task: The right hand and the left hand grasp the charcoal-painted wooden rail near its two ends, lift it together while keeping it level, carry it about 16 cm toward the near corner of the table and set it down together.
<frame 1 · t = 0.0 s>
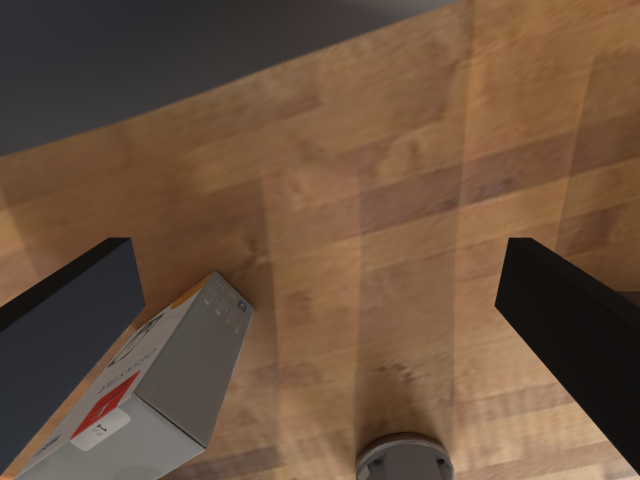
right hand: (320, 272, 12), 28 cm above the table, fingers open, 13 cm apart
hard drive box: (194, 319, 46), on the table
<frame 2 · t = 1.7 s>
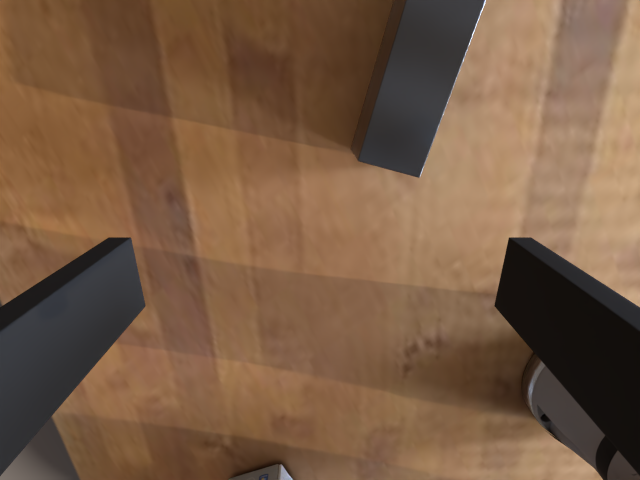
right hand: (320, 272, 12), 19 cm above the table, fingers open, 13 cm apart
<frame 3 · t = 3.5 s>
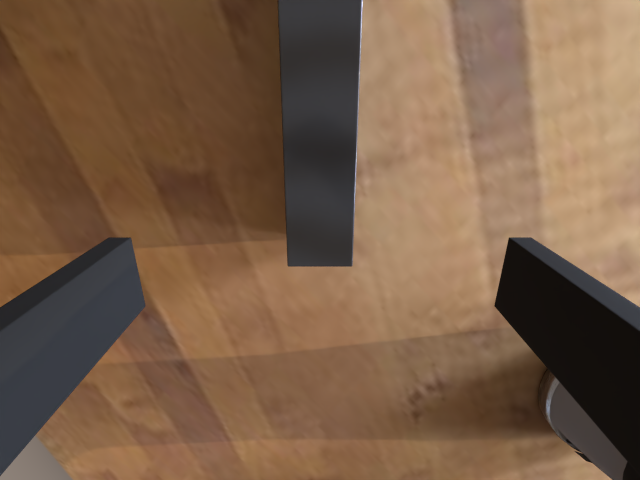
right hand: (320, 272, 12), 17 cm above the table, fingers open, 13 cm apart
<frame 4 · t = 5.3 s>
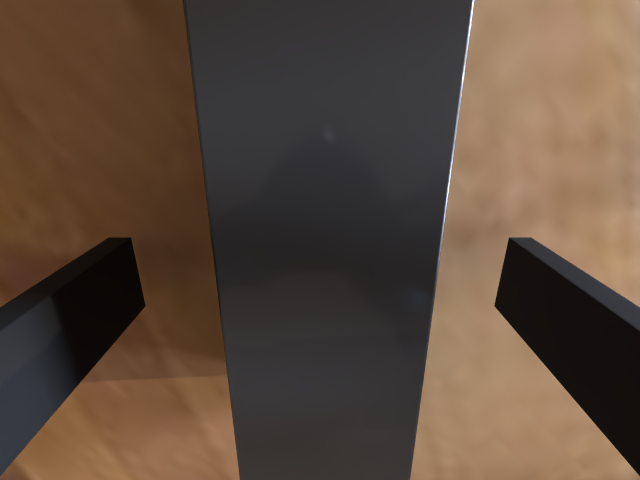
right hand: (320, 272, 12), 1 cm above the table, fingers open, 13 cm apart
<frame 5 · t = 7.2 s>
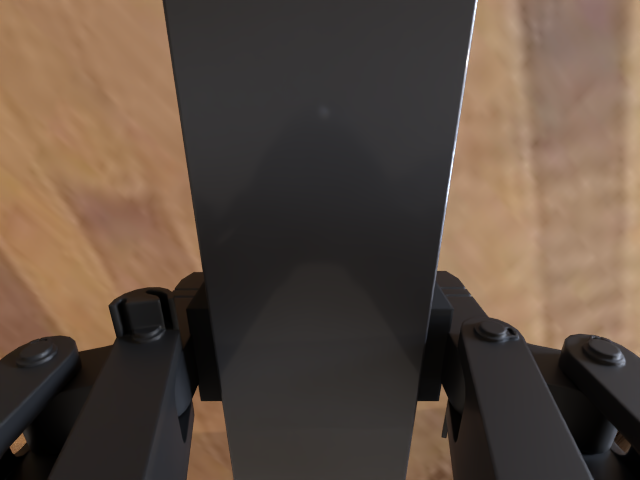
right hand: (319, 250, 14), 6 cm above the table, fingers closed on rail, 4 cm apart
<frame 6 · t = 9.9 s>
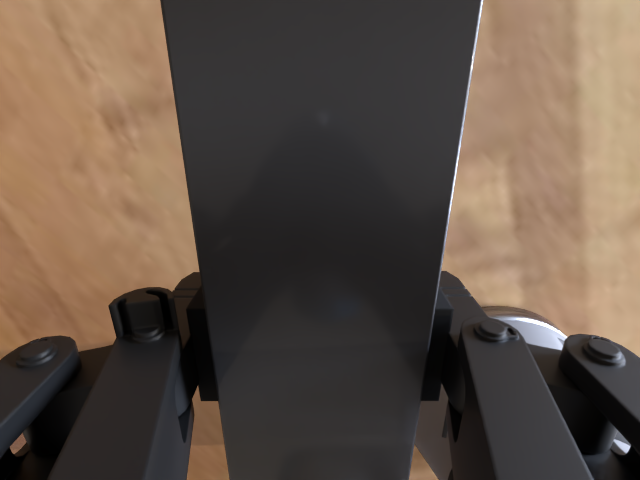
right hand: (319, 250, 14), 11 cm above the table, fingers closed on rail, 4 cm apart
when the left hand's fingers open (2 cm above the table, at t = 12.4 s): rail stays where it is, held by the right hand.
when the right hand's fingers open (0 cm above the table, at t = 12.8 s): rail stays where it is, on the table.
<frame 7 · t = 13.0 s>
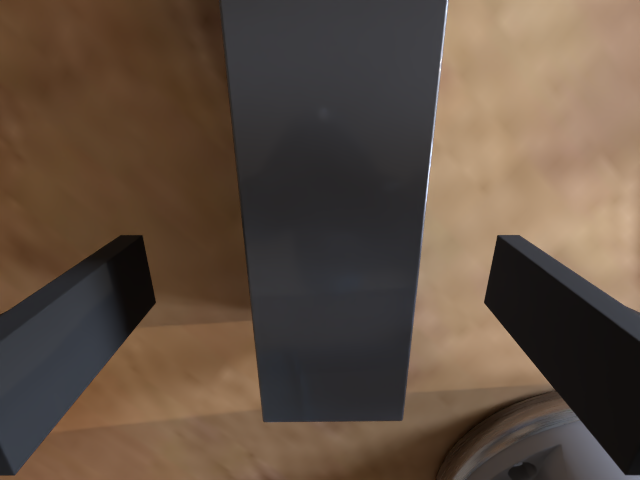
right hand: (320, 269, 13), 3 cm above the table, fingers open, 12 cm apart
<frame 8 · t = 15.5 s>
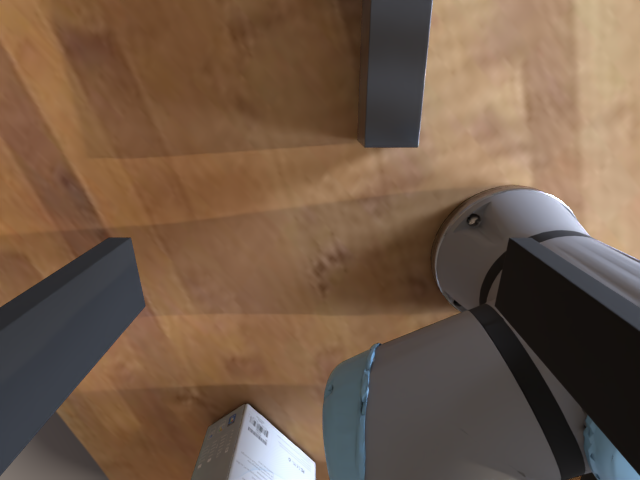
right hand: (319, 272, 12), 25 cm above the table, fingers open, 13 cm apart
hard drive box: (264, 443, 50), on the table
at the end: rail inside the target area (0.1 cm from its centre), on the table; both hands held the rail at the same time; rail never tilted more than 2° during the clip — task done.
